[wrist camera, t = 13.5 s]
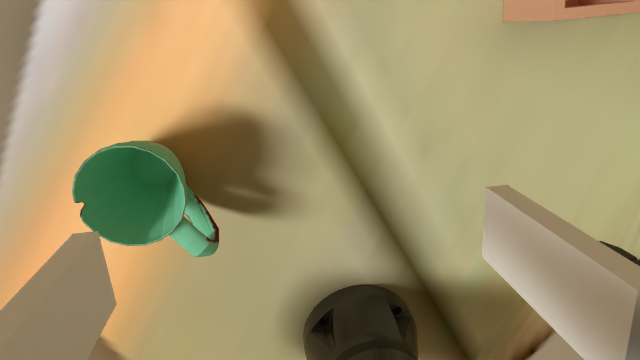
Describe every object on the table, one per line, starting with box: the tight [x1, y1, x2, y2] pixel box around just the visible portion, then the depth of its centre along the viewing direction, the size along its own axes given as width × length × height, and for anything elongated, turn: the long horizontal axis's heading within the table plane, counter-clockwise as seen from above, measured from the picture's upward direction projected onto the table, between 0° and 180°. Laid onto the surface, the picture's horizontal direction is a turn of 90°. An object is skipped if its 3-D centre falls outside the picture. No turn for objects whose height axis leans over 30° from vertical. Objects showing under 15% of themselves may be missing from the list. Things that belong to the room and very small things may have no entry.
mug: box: [72, 141, 219, 257], centre depth 45 cm, size 15×10×10 cm
